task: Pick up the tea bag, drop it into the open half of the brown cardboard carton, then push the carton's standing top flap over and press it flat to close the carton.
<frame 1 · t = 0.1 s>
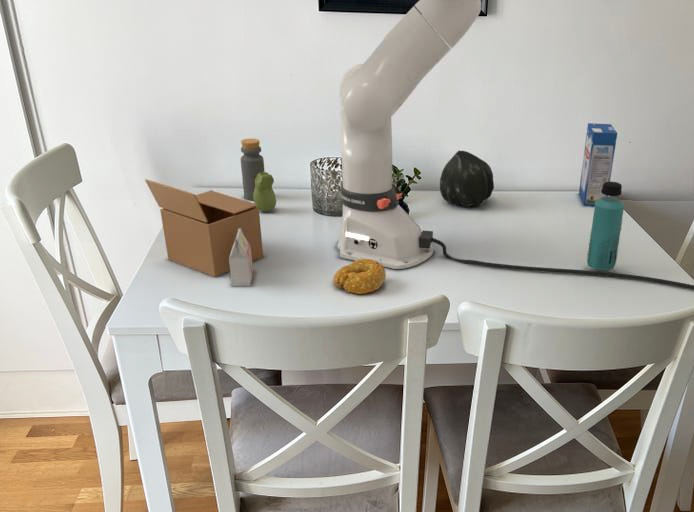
flap: (176, 200, 151), point 15 cm above the table, hinge at 110.0°
bottle: (255, 197, 200), on the table
squash: (465, 203, 203), on the table
milk carton: (592, 201, 209), on the table
beverage bottle: (599, 271, 167), on the table
bagel: (359, 286, 155), on the table
pear: (266, 211, 191), on the table
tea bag: (242, 279, 156), on the table
carton: (216, 258, 164), on the table
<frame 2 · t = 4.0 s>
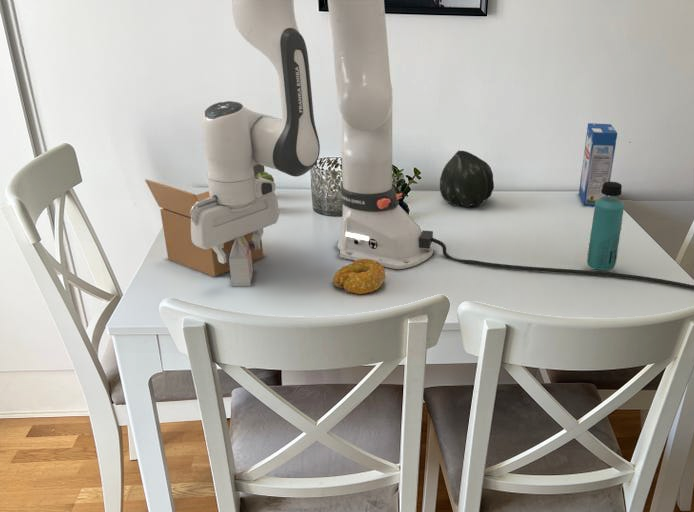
hand: (239, 255, 153), 5 cm above the table, tool pointing down, fingers closed on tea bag, 7 cm apart
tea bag: (242, 280, 156), on the table, touching gripper
everything else where it was.
when the fingers open (17 cm above the table, at t = 9.0 s): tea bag drops 11 cm, resting on carton.
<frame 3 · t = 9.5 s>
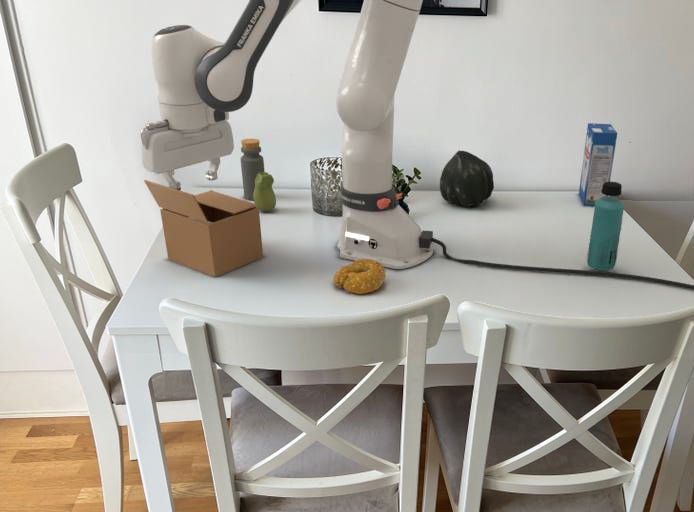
hand: (194, 185, 153), 17 cm above the table, tool pointing down, fingers open, 8 cm apart
flap: (175, 201, 151), point 15 cm above the table, hinge at 112.3°
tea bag: (208, 264, 161), resting on carton
everything else where it was.
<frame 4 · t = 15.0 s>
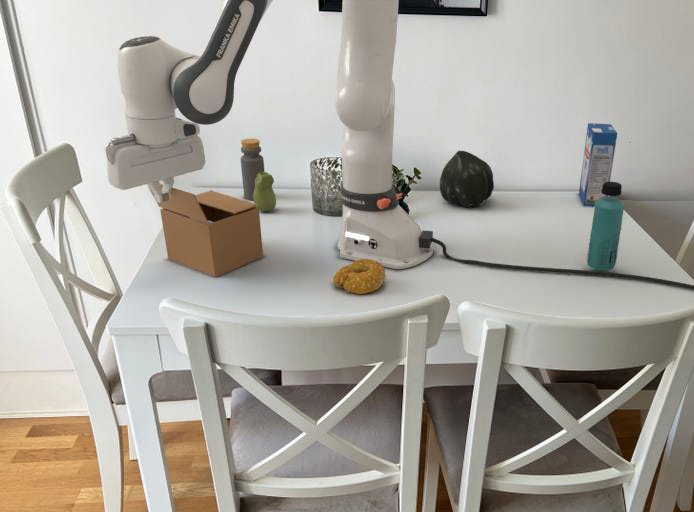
hand: (163, 200, 148), 16 cm above the table, tool pointing down, fingers closed
flap: (176, 200, 151), point 15 cm above the table, hinge at 110.9°, touching gripper
everything else where it was.
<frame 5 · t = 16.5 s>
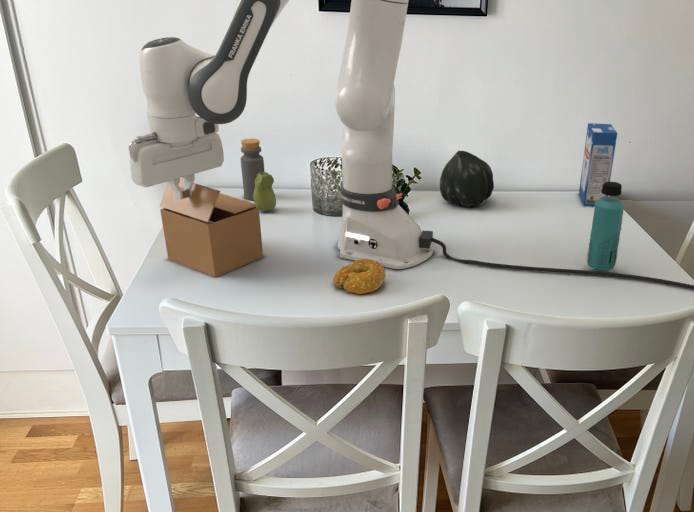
hand: (183, 197, 152), 15 cm above the table, tool pointing down, fingers closed
flap: (189, 198, 153), point 15 cm above the table, hinge at 54.6°, touching gripper
everything else where it was.
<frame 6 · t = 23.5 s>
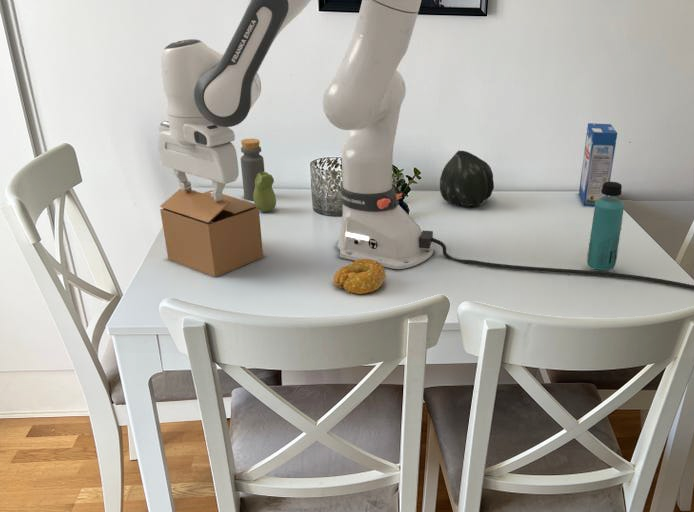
hand: (201, 195, 156), 15 cm above the table, tool pointing down, fingers open, 8 cm apart
flap: (194, 204, 155), point 13 cm above the table, hinge at 22.4°, touching gripper
everything else where it was.
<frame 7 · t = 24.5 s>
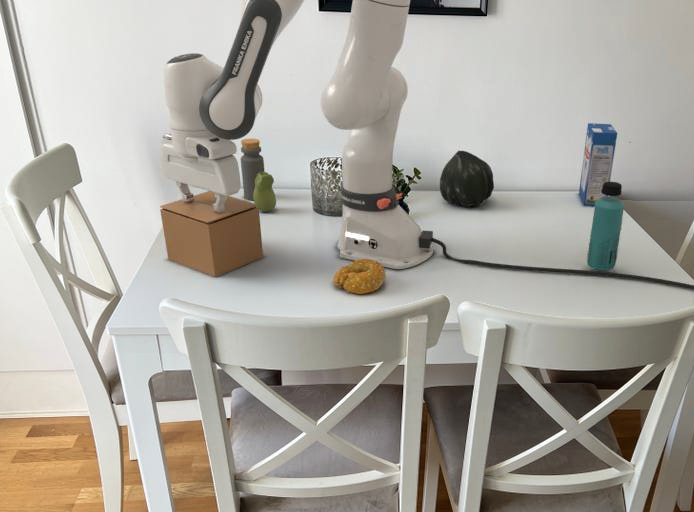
hand: (203, 206, 157), 12 cm above the table, tool pointing down
flap: (196, 210, 156), point 12 cm above the table, hinge at 0.2°, touching gripper
everything else where it was.
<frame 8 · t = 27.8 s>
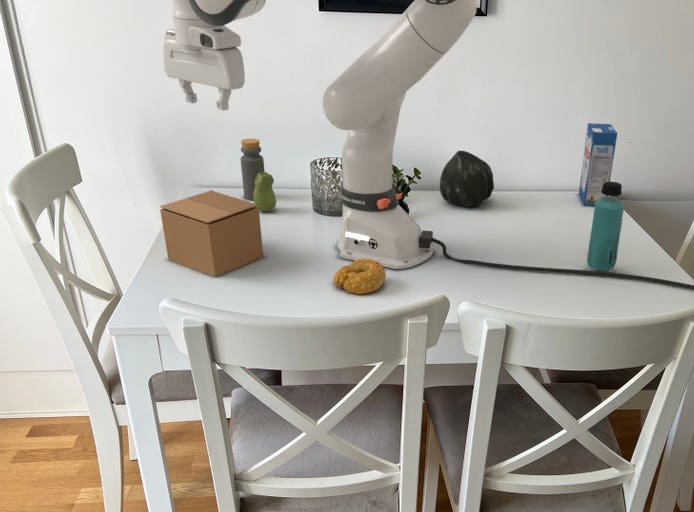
hand: (207, 106, 154), 31 cm above the table, tool pointing down, fingers open, 8 cm apart
flap: (196, 210, 156), point 12 cm above the table, hinge at -0.1°
everything else where it was.
at the end: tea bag inside the target area in the carton (4.3 cm from its centre), point 0.2 cm above the carton's base; flap at +0° (first picture: +110°) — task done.
